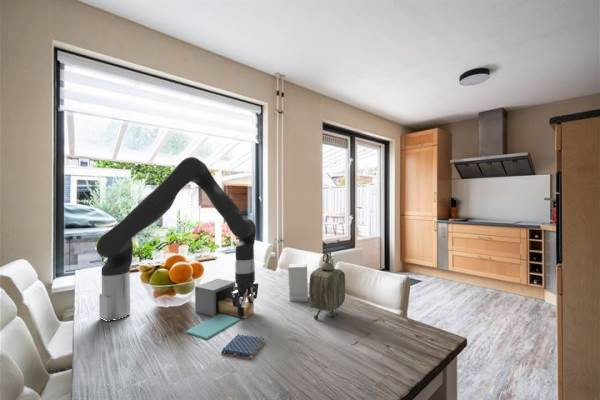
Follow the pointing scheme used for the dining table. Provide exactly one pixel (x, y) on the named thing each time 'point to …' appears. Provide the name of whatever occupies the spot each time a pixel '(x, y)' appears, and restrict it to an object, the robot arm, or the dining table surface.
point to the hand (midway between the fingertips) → (245, 313)
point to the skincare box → (298, 282)
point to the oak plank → (235, 308)
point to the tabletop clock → (326, 288)
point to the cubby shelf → (212, 295)
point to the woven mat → (243, 346)
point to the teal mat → (212, 326)
